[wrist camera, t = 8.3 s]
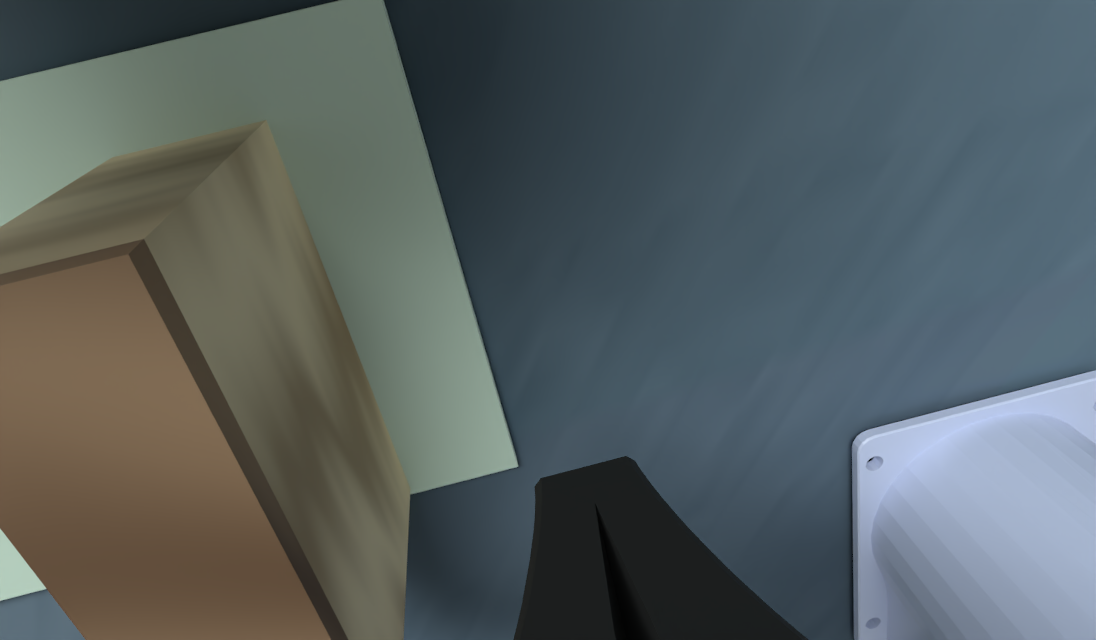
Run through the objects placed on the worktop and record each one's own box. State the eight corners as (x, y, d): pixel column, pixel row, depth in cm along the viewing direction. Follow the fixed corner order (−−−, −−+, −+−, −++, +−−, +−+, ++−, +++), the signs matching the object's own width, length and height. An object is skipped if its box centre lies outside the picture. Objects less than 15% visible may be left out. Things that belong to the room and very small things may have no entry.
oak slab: (410, 488, 19) (397, 766, 13) (293, 519, 19) (219, 813, 13) (266, 119, 15) (128, 254, 8) (111, 157, 15) (-157, 324, 8)
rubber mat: (516, 457, 20) (518, 466, 20) (-23, 597, 19) (-31, 609, 19) (380, -10, 14) (379, -9, 14) (-380, 171, 14) (-401, 177, 14)
